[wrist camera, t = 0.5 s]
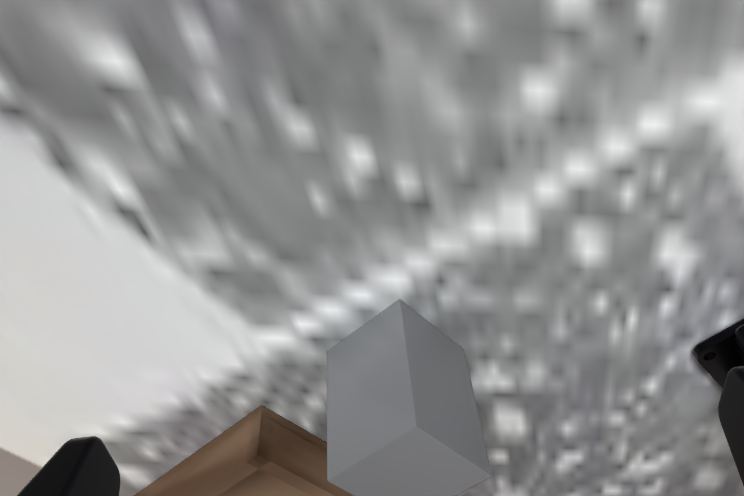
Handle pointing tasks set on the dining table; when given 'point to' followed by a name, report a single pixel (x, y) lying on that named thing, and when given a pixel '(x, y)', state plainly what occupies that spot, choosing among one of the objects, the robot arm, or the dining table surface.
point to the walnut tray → (253, 463)
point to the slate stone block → (402, 411)
